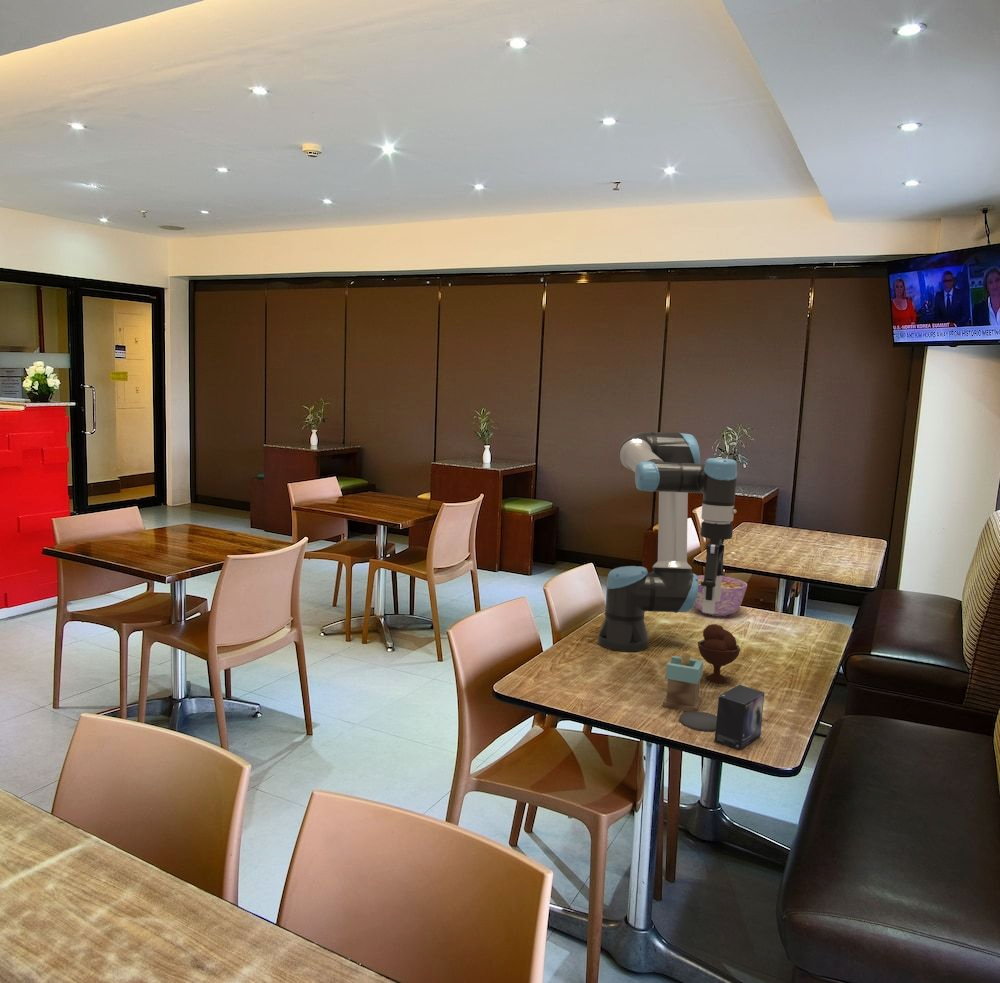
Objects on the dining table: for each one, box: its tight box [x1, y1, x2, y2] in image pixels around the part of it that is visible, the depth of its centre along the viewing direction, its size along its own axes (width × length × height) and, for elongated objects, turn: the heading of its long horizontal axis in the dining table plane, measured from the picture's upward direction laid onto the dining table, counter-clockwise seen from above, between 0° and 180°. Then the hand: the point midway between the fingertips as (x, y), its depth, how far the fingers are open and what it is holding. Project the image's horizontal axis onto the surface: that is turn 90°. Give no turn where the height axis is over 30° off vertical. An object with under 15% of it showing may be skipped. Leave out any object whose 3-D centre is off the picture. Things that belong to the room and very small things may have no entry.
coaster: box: [678, 711, 717, 732], centre depth 181 cm, size 10×10×1 cm
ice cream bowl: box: [697, 623, 741, 685], centre depth 209 cm, size 11×11×15 cm
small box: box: [713, 684, 765, 750], centre depth 172 cm, size 11×6×10 cm, turn 138°
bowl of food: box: [694, 574, 748, 617], centre depth 277 cm, size 20×20×12 cm
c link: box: [665, 655, 704, 684], centre depth 191 cm, size 8×8×4 cm
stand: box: [662, 652, 703, 712], centre depth 191 cm, size 8×8×12 cm
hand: (711, 606), depth 195 cm, fingers open, 13 cm apart
